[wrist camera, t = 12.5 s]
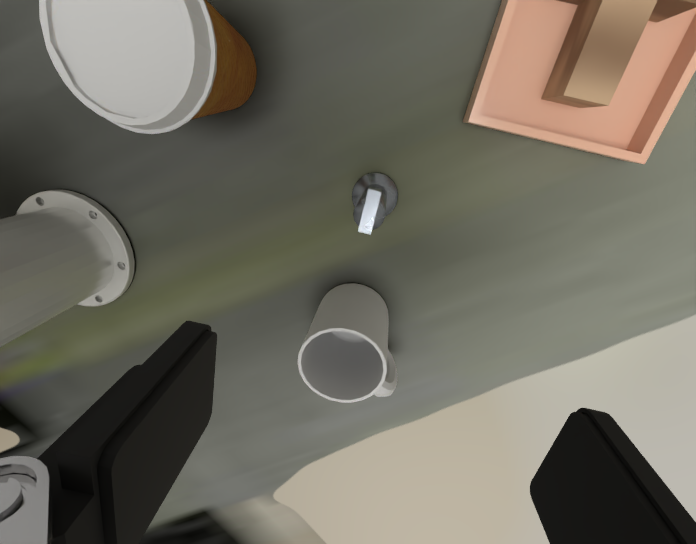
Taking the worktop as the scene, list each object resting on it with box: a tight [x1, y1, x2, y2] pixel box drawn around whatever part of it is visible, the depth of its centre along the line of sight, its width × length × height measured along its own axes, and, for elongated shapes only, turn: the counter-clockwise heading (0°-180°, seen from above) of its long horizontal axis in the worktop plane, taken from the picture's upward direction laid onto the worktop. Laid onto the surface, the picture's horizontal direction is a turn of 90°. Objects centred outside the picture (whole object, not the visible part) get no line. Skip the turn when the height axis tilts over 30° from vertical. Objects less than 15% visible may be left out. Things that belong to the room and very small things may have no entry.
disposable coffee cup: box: [39, 0, 257, 134], centre depth 24 cm, size 10×10×12 cm
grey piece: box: [352, 172, 398, 235], centre depth 28 cm, size 4×4×8 cm
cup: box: [298, 283, 397, 402], centre depth 33 cm, size 7×10×9 cm
